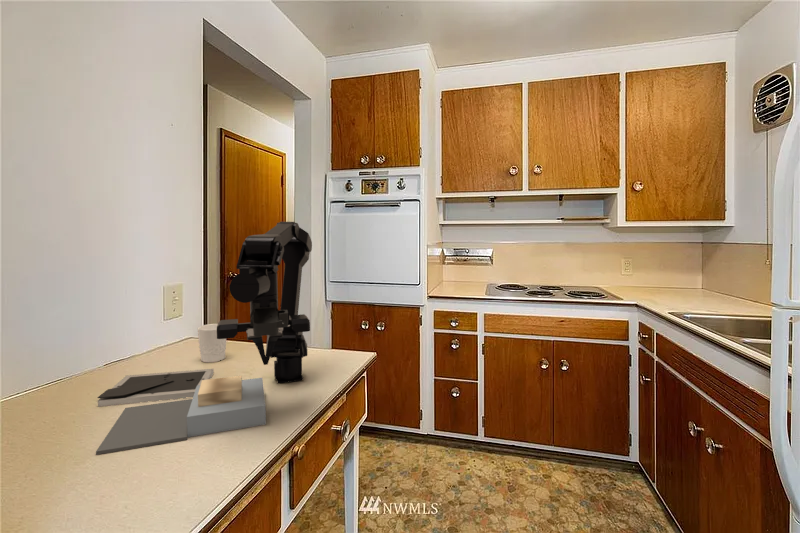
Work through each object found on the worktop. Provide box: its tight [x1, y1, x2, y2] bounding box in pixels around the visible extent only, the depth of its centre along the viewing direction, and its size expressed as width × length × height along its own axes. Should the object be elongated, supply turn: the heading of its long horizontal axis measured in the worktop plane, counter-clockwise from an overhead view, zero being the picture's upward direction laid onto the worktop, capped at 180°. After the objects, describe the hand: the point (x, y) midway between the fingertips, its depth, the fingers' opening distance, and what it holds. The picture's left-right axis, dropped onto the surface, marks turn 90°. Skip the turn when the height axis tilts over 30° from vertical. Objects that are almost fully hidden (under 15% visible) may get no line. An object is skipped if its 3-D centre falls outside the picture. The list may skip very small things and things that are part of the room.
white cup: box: [197, 323, 227, 363], centre depth 118 cm, size 8×8×10 cm
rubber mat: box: [95, 398, 193, 456], centre depth 79 cm, size 14×18×1 cm
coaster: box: [198, 375, 243, 407], centre depth 83 cm, size 8×8×2 cm
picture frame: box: [97, 368, 215, 408], centre depth 96 cm, size 16×3×21 cm
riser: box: [187, 377, 267, 438], centre depth 84 cm, size 14×16×4 cm
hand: (265, 364), depth 86 cm, fingers closed
